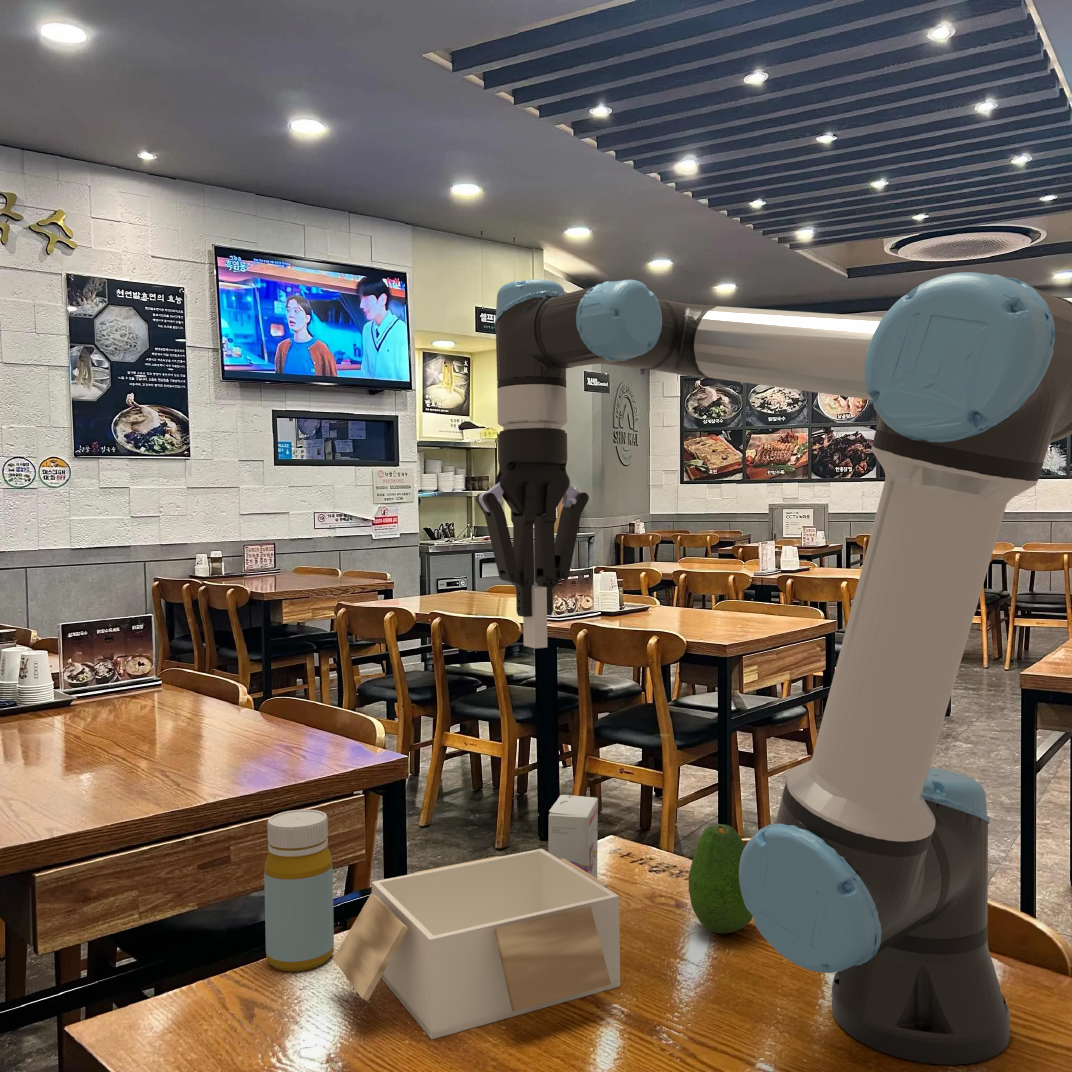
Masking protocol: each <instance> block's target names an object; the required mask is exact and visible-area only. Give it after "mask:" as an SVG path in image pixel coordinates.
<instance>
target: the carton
mask: <svg viewBox="0 0 1072 1072" xmlns="http://www.w3.org/2000/svg"><path fill="white" fill-rule="evenodd" d="M371 893H372V894H374V895H376V896H377V897H378V898H379V899H380V900H381V901H382V902H383V903H384V904H385V905H386V906H387V907H388V908H389V909H390V910H391V911H392V912H393V913H394V914H395V915H396V917H397V918H398V919H399V920H400V921H401V922H402V923H403V924H404V925H405V926H406V927H407V928H408V930H407V931H406V933H405V935H404V937H403V939H402V940H401V942H400V944H399V946H398V948H397V949H396V951H395V953H394V955H393V957H392V958H391V960H390V962H389V964H388V965H387V967H386V969H385V971H384V973H383V974H382V976H381V978H380V979H381V980H382V981H383V982H384V984H386V986H387V987H388V988H389V989H390V991H391V992H392V993H393V994H394V995H395V997H396V998H397V999H398V1000H399V1002H400V1003H401V1004H402V1005H403V1006H404V1008H405V1009H406V1010H407V1012H409V1014H410V1015H411V1016H412V1017H413V1019H414V1021H416V1022H417V1023H418V1025H419V1026H420V1027H421V1029H422V1030H423V1031H424V1032H425V1033H426V1034H427V1036H428V1037H429V1039H431V1040H435V1039H438V1038H442V1037H445V1036H449V1035H453V1034H456V1033H460V1032H462V1031H463V1032H464V1031H467V1030H470V1029H474V1028H478V1027H481V1026H484V1025H488V1024H492V1023H495V1022H499V1021H501V1020H502V1021H503V1020H505V1019H509V1018H513V1017H516V1016H517V1017H518V1016H520V1015H524V1014H527V1013H531V1012H535V1011H538V1010H540V1009H545V1008H549V1007H552V1006H557V1005H558V1004H563V1003H565V1002H569V1001H574V1000H577V999H581V998H584V997H587V996H591V995H594V994H598V993H601V992H605V991H609V990H613V989H615V988H619V987H621V947H620V946H621V943H620V942H621V941H620V940H621V939H620V938H621V935H620V932H621V931H620V928H621V927H620V895H619V894H616V893H615V892H614V891H612V890H610V889H608V884H607V883H605V882H604V881H602V880H601V879H599V878H598V877H597V878H595V877H594V876H592V875H590V874H589V873H587V872H585V871H584V870H582V869H581V868H579V867H577V866H576V865H574V864H572V863H571V862H569V861H567V860H566V859H564V858H563V859H558V858H556V857H555V856H553V855H551V854H550V853H548V851H547V850H545V849H543V848H537V849H532V850H528V851H523V852H517V853H512V854H507V855H502V856H499V855H496V856H491V857H487V858H481V859H476V860H471V861H466V862H461V863H455V864H450V865H445V866H440V867H435V868H431V869H424V870H419V871H414V872H413V873H410V874H405V875H399V876H396V877H390V878H384V879H379V880H374V881H371ZM590 906H591V909H592V913H593V917H594V921H595V925H596V928H597V932H598V936H599V940H600V944H601V948H602V951H603V955H604V959H605V963H606V967H607V970H608V974H609V978H610V982H611V985H607V986H603V987H600V988H596V989H593V990H589V991H586V992H582V993H578V994H575V995H571V996H568V997H564V998H561V999H557V1000H553V1001H550V1002H546V1003H543V1004H539V1005H535V1006H532V1007H528V1008H525V1009H521V1010H518V1011H514V1012H512V1009H511V1004H510V1000H509V995H508V991H507V986H506V982H505V977H504V973H503V968H502V963H501V959H500V954H499V950H498V945H497V941H496V936H495V932H494V929H496V928H500V927H505V926H509V925H513V924H517V923H522V922H526V921H530V920H535V919H539V918H543V917H547V916H552V915H556V914H560V913H565V912H569V911H573V910H578V909H582V908H586V907H590Z"/></svg>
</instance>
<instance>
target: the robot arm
mask: <svg viewBox="0 0 1072 1072" xmlns="http://www.w3.org/2000/svg"><path fill="white" fill-rule="evenodd" d="M495 308H496V309H495V310H496V311H495V321H494V324H493V325H494V329H495V330H494V331H495V349H496V350H495V351H496V352H495V353H496V354H495V355H496V389H497V390H496V394H497V395H496V398H497V401H496V403H497V407H496V408H497V411H496V412H497V424H498V425H499V426H500V427H502V429H503V430H501V431H499V433H498V434H497V462H498V466H499V467H498V473H497V475H496V477H495V482H494V483H495V485H494V486H492V487H491V488H490V489H489V488H488V490H487V491H486V492H483V493H478V494H477V495H476V496H475V502H476V504H477V505H478V507H479V508H480V510H481V511H482V513H483V515H484V519H485V521H486V526H487V527H486V528H487V530H488V535H489V538H490V544H491V547H492V552H493V556H494V559H495V560H494V561H495V564H496V565H495V566H496V568H497V573H498V577H499V579H500V580H501V581H504V582H507V583H510V584H512V585H513V586H514V587H515V596H516V597H515V598H516V599H515V600H516V601H515V602H516V603H515V604H516V608H515V609H516V610H515V611H516V614H517V616H518V617H523V618H522V619H523V620H522V621H523V622H522V624H523V627H522V629H523V630H522V631H523V647H528V648H533V649H544V648H548V616H552V615H553V611H554V587H556V586H557V585H558V584H559V582H560V581H562V580H566V579H568V578H569V576H570V573H571V567H572V562H573V557H574V556H573V555H574V553H575V547H576V542H577V538H578V537H577V536H578V531H579V526H580V523H581V522H580V521H581V515H582V512H583V511H584V509H585V507H586V505H587V504H588V502H589V499H590V498H589V497H590V496H589V495H588V493H587V492H580V491H578V490H577V489H576V488H575V487H574V486H572V485H571V481H570V480H571V479H570V477H569V475H568V472H567V469H566V468H567V464H568V463H567V462H568V433H567V432H566V430H564V429H563V426H565V425H566V424H567V423H568V405H567V404H568V403H567V369H571V368H575V367H582V366H589V365H609V366H610V365H611V366H616V367H625V368H632V369H640V370H648V371H649V370H650V371H656V372H661V373H662V372H664V373H668V374H676V375H680V376H684V377H685V376H686V377H691V378H693V377H694V378H697V377H700V378H704V379H706V378H709V379H715V380H725V381H732V382H737V383H745V384H753V385H760V386H768V387H774V388H783V389H788V390H798V391H803V392H811V393H819V394H825V395H832V396H833V395H834V396H838V397H839V396H841V397H847V398H852V399H853V398H855V399H863V400H869V401H871V402H872V403H873V409H874V410H875V412H876V413H877V414H878V416H879V417H878V420H877V425H876V429H875V433H874V436H873V441H872V445H871V449H870V450H871V451H872V453H873V454H874V456H875V458H876V460H877V461H878V463H879V464H880V466H881V467H882V469H883V472H884V475H885V480H884V482H883V487H882V491H881V494H880V495H881V496H880V499H879V502H878V507H877V509H876V514H875V518H874V521H873V525H872V529H871V533H870V537H869V541H868V544H867V548H866V552H865V556H864V558H863V563H862V567H861V571H860V574H859V579H858V583H857V586H856V589H855V595H854V598H853V602H852V605H851V609H850V613H849V617H848V620H847V624H846V627H845V630H844V631H845V632H844V635H843V640H842V643H841V645H840V646H841V648H840V650H839V654H838V658H837V661H836V667H835V670H834V674H833V676H832V677H833V678H832V680H831V681H832V682H831V684H830V689H829V692H828V697H827V700H826V705H825V708H824V712H823V716H822V719H821V722H820V727H819V731H818V735H817V738H816V742H815V744H814V750H813V754H812V757H811V759H810V760H808V761H806V762H803V763H801V764H799V765H797V766H795V767H793V768H792V769H791V770H790V771H789V773H788V775H787V777H786V780H785V783H784V784H785V785H784V788H783V791H782V795H781V799H780V803H779V807H778V810H777V813H776V814H777V815H776V818H775V822H774V823H773V824H772V823H770V824H768V825H765V826H764V827H762V828H760V829H759V830H758V831H756V832H755V834H754V835H753V836H752V837H751V838H750V839H749V840H748V841H747V842H746V845H745V848H744V850H743V852H742V855H741V858H740V864H739V883H740V889H741V894H742V897H743V900H744V903H745V906H746V908H747V910H748V911H749V912H750V913H751V914H752V916H753V918H752V919H753V923H754V925H755V927H756V929H757V930H758V931H759V933H760V934H761V936H762V937H763V938H764V940H765V941H766V942H767V943H768V944H769V945H770V947H772V948H773V949H774V950H775V951H776V952H777V953H778V954H780V955H781V956H782V957H784V958H785V959H786V960H788V961H790V962H791V963H793V964H795V965H797V966H798V967H800V968H803V969H805V970H808V971H811V972H816V973H822V974H829V973H830V974H831V973H832V974H833V973H835V974H834V976H833V979H832V984H831V1011H832V1015H833V1018H834V1019H835V1021H836V1023H837V1024H838V1026H840V1027H841V1029H842V1030H844V1032H846V1033H847V1034H848V1035H850V1036H851V1037H852V1038H854V1039H855V1040H856V1041H859V1042H861V1043H862V1044H864V1045H865V1046H868V1047H870V1048H872V1049H874V1050H877V1051H879V1052H881V1053H884V1054H886V1055H889V1056H893V1057H896V1058H900V1059H904V1060H908V1061H912V1062H919V1063H926V1064H933V1065H949V1066H950V1065H966V1064H973V1063H975V1064H976V1063H978V1062H984V1061H987V1060H989V1059H992V1058H993V1057H996V1056H997V1055H999V1054H1001V1053H1002V1052H1003V1051H1005V1049H1006V1048H1007V1047H1008V1045H1009V1042H1010V1038H1011V1036H1010V1035H1011V1032H1010V1031H1011V1028H1010V1027H1011V1026H1010V1024H1011V1022H1010V1021H1011V1020H1010V1015H1011V1014H1010V1009H1009V1005H1008V1003H1007V1000H1006V999H1005V996H1004V994H1003V993H1002V991H1001V985H1000V982H999V979H998V976H997V972H996V969H995V965H994V962H993V959H992V955H991V953H990V948H989V945H988V944H989V943H988V924H989V923H988V921H989V920H988V916H989V915H988V912H989V911H988V910H989V909H988V907H989V906H988V904H989V903H988V902H989V901H988V898H989V897H988V894H989V890H988V887H989V886H988V885H989V883H988V882H989V879H988V878H989V872H988V870H989V869H988V868H989V866H988V865H989V863H988V861H989V859H988V858H989V857H988V856H989V824H990V819H991V818H990V816H988V809H987V807H988V806H987V794H986V791H985V788H984V787H983V785H982V784H981V783H980V782H979V781H977V780H976V779H974V778H972V777H970V776H968V775H965V774H962V773H958V772H954V771H950V770H945V769H941V768H934V767H931V766H932V765H931V764H932V761H933V759H934V754H935V751H936V748H937V745H938V741H939V736H940V733H941V730H942V728H943V727H942V726H943V724H944V720H945V717H946V713H947V711H948V710H947V709H948V707H949V703H950V701H951V696H952V694H953V690H954V687H955V686H954V685H955V682H956V679H957V676H958V673H959V668H960V666H961V662H962V659H963V654H964V653H965V649H966V645H967V642H968V639H969V634H970V631H971V628H972V624H973V621H974V618H975V614H976V611H977V607H978V604H979V601H980V597H981V594H982V590H983V586H984V583H985V580H986V576H987V573H988V570H989V567H990V563H991V559H992V555H993V552H994V548H995V545H996V542H997V539H998V535H999V532H1000V528H1001V525H1002V521H1003V518H1004V514H1005V511H1006V508H1007V504H1009V503H1010V501H1011V500H1012V499H1014V498H1015V497H1017V496H1018V495H1020V494H1022V493H1024V492H1025V491H1028V490H1030V489H1031V488H1033V487H1035V486H1037V484H1038V481H1039V479H1040V476H1041V473H1042V469H1043V465H1044V463H1045V459H1046V457H1047V456H1046V455H1047V453H1048V448H1049V446H1050V444H1052V443H1054V442H1058V441H1060V440H1062V439H1065V438H1067V437H1069V436H1070V435H1072V301H1070V300H1068V299H1066V298H1062V297H1059V296H1057V295H1056V296H1055V295H1052V294H1050V293H1047V292H1045V291H1043V290H1040V289H1038V288H1036V287H1033V286H1031V285H1030V284H1028V283H1026V282H1024V281H1022V280H1020V279H1018V278H1014V277H1006V276H1004V275H1003V276H1002V275H999V274H988V273H982V272H975V271H974V272H972V271H971V272H969V271H967V272H964V271H962V272H954V273H953V272H952V273H947V274H945V275H940V276H937V277H935V278H934V277H933V278H931V279H929V280H927V281H925V282H923V283H921V284H920V285H918V286H916V287H915V288H913V289H912V290H911V291H909V292H908V293H907V294H905V295H903V296H901V298H900V299H898V300H897V301H896V302H895V303H894V304H893V305H892V306H891V307H890V308H889V309H888V311H887V312H886V313H885V314H884V315H883V316H869V315H855V314H842V313H841V314H839V313H828V312H827V313H824V312H822V313H821V312H810V311H798V310H797V311H795V310H793V311H792V310H781V309H780V310H777V309H768V308H767V309H765V308H763V309H762V308H750V307H749V308H748V307H733V306H720V305H719V306H718V305H709V304H708V305H707V304H696V303H695V304H694V303H683V302H679V301H672V300H666V299H662V298H658V297H657V296H656V295H655V293H654V292H653V291H651V290H649V288H647V285H646V284H645V283H643V282H641V281H639V280H636V279H623V280H617V281H613V280H609V281H604V282H602V283H598V284H596V285H595V286H589V287H586V288H583V289H580V290H574V291H571V292H568V293H566V292H565V289H564V287H563V286H562V285H561V284H560V283H558V282H555V281H553V280H546V279H539V278H538V279H534V278H533V279H531V278H530V279H525V280H515V281H510V282H508V283H505V284H504V285H502V286H501V287H500V288H499V289H498V291H497V294H496V306H495ZM504 502H505V503H506V504H507V506H508V507H509V509H510V520H511V523H512V526H513V527H512V532H513V533H512V535H513V537H512V538H511V535H510V531H509V526H508V522H507V518H506V514H505V511H504V509H503V507H502V506H503V504H504ZM560 503H561V504H562V505H563V506H562V508H561V511H560V515H559V520H558V523H557V524H558V525H557V529H556V536H555V523H556V522H557V508H558V506H559V504H560ZM512 539H513V541H512ZM512 543H513V544H512ZM534 583H535V584H536V585H534Z"/></svg>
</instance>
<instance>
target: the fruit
mask: <svg viewBox="0 0 1072 1072" xmlns="http://www.w3.org/2000/svg"><path fill="white" fill-rule="evenodd" d="M745 846H746V845H745V842H744V841H743V839H742V838H741V836H740V834H739V833H738V832H737V831H736V829H735V828H733V827H732V826H730V825H729V824H721V823H715V824H713V825H711V826H709V827H706V828H705V829H704V830H703V832H702V834H701V835H700V838H699V839H698V842H697V845H696V848H695V852H694V855H693V857H692V861H691V865H690V867H689V868H690V869H689V871H688V894H689V898H690V904H691V908H692V910H693V912H694V914H695V916H696V918H697V920H698V922H700V923H701V925H703V926H704V928H706V929H707V930H709V931H711V932H713V933H716V934H719V935H721V934H723V935H726V934H727V935H729V934H731V933H734V932H737V931H740V930H741V929H743V928H744V927H746V926H747V925H748V924H749V923H750V922H751V921H752V919H753V916H752V914H751V913H750V912H749V911H748V910H747V908H746V906H745V903H744V900H743V897H742V894H741V889H740V883H739V864H740V858H741V855H742V852H743V850H744V848H745Z"/></svg>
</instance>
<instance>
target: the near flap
mask: <svg viewBox="0 0 1072 1072" xmlns="http://www.w3.org/2000/svg"><path fill="white" fill-rule="evenodd" d="M494 932H495V936H496V941H497V945H498V950H499V954H500V959H501V963H502V968H503V973H504V977H505V982H506V986H507V991H508V995H509V1000H510V1004H511V1009H512V1012H514V1011H518V1010H521V1009H525V1008H528V1007H532V1006H535V1005H539V1004H543V1003H546V1002H550V1001H553V1000H557V999H561V998H564V997H568V996H571V995H575V994H578V993H582V992H586V991H589V990H593V989H596V988H600V987H603V986H607V985H611V982H610V978H609V974H608V970H607V967H606V963H605V959H604V955H603V951H602V948H601V944H600V940H599V936H598V932H597V928H596V925H595V921H594V917H593V913H592V909H591V906H590V907H586V908H582V909H578V910H573V911H569V912H565V913H560V914H556V915H552V916H547V917H543V918H539V919H535V920H530V921H526V922H522V923H517V924H513V925H509V926H505V927H500V928H496V929H494Z"/></svg>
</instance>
